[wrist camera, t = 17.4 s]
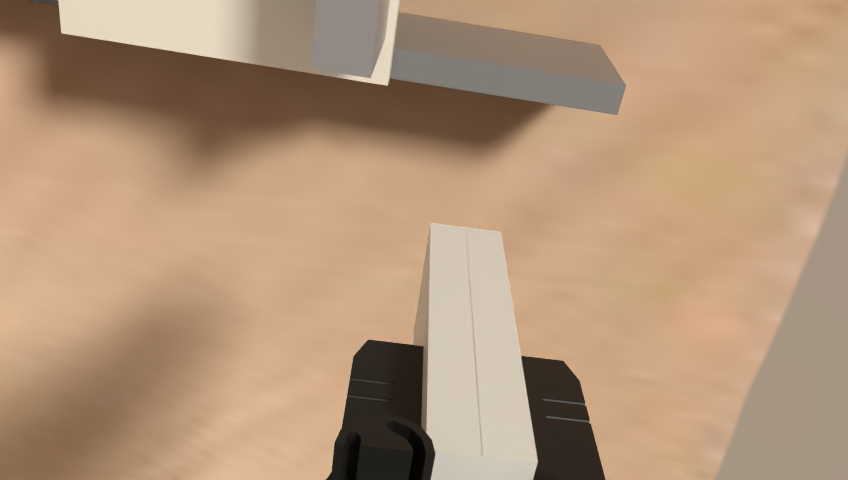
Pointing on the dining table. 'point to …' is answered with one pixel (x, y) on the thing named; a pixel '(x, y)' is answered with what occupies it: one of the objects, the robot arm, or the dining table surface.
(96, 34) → the lid
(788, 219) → the dining table surface
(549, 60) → the housing
